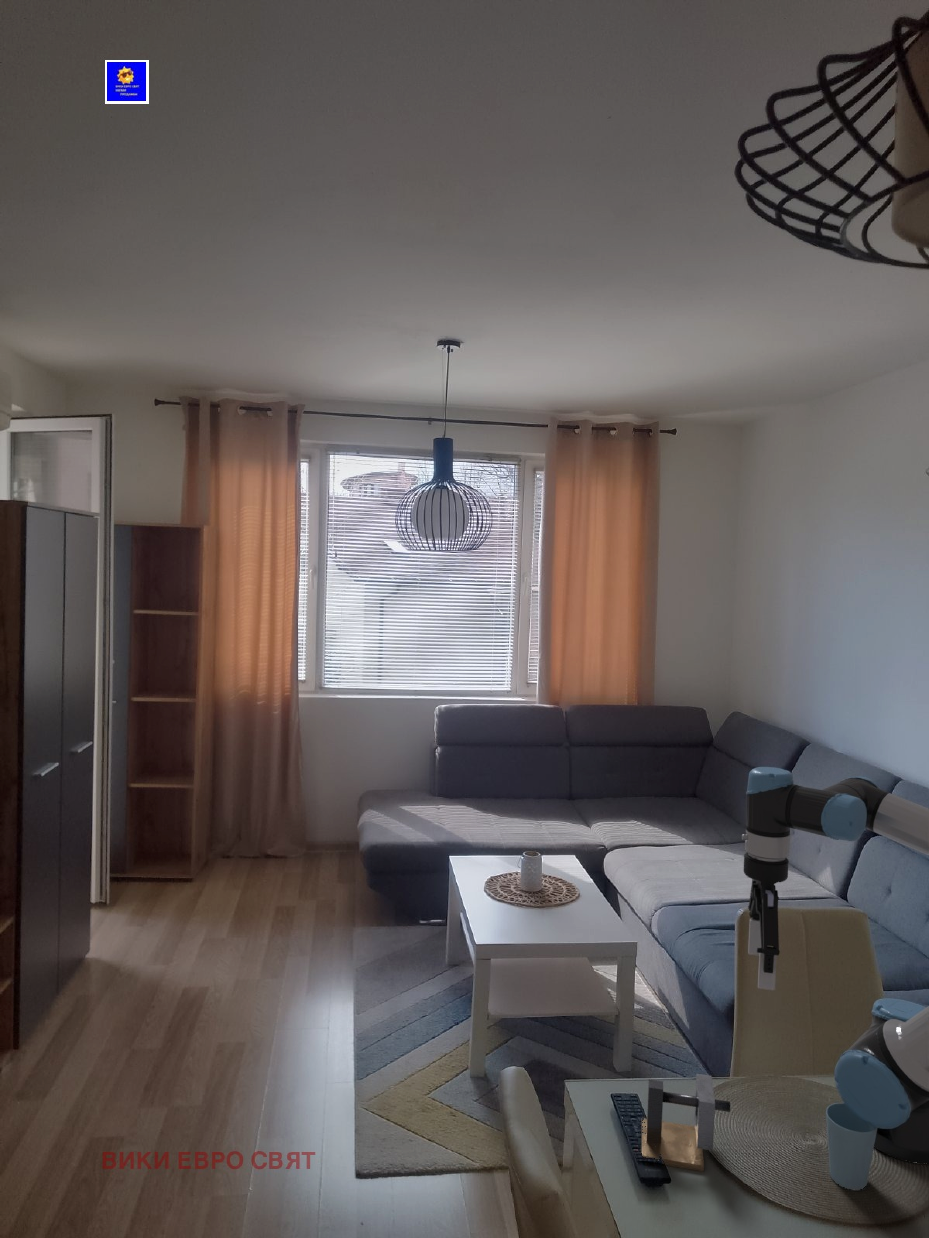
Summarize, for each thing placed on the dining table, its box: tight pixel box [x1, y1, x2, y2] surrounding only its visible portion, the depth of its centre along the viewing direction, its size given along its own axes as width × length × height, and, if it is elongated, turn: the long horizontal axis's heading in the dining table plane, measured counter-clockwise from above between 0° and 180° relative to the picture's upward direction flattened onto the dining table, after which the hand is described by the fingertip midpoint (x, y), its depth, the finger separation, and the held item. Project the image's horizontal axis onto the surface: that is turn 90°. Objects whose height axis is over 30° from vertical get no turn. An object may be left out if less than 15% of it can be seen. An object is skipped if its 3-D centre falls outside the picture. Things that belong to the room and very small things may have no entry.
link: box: [693, 1073, 716, 1151], centre depth 145 cm, size 2×8×8 cm, turn 168°
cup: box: [825, 1102, 877, 1191], centre depth 139 cm, size 8×8×10 cm
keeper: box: [641, 1079, 731, 1172], centre depth 145 cm, size 14×10×10 cm
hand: (760, 970), depth 154 cm, fingers open, 13 cm apart
